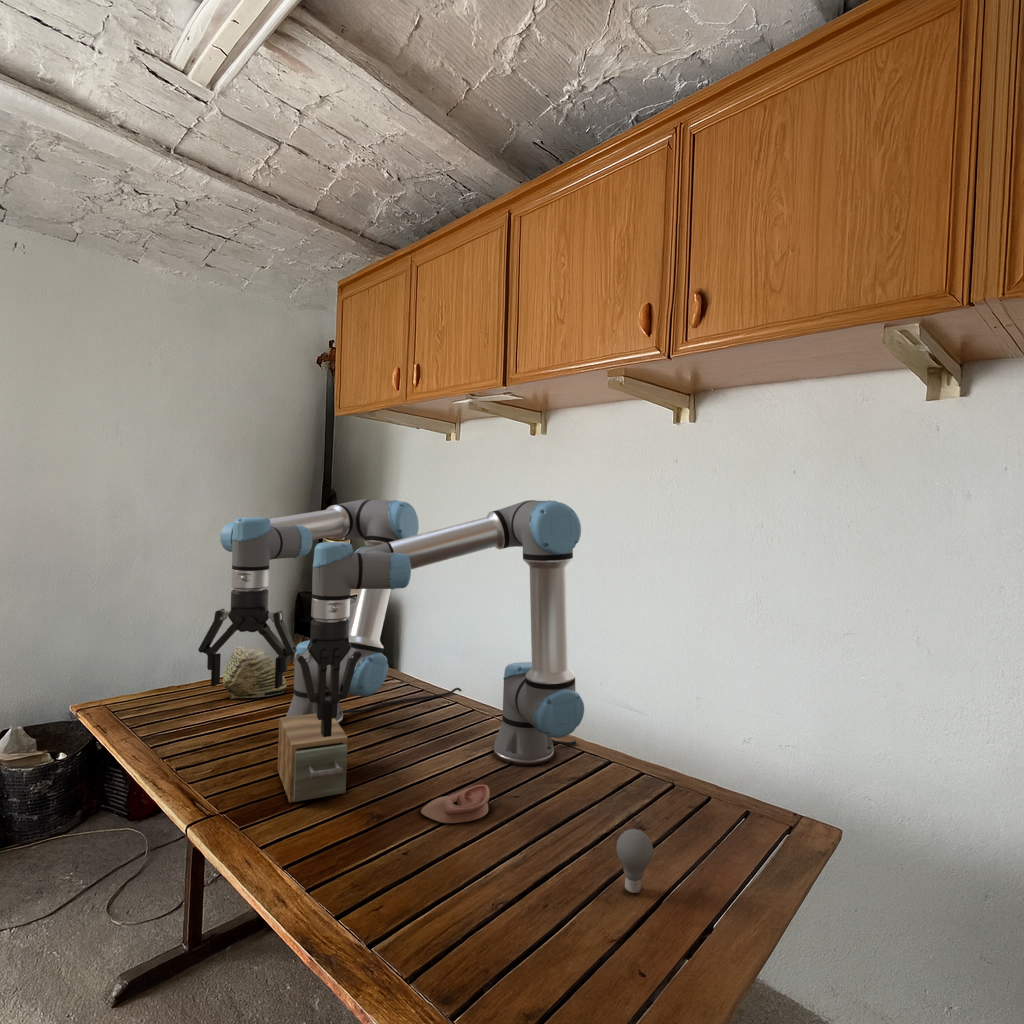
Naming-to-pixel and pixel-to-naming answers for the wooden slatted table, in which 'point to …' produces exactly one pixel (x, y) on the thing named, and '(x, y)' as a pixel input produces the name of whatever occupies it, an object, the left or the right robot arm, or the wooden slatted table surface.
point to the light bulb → (634, 857)
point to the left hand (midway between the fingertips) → (247, 685)
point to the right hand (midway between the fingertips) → (326, 734)
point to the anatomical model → (459, 806)
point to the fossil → (251, 674)
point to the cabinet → (301, 743)
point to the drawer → (320, 771)
